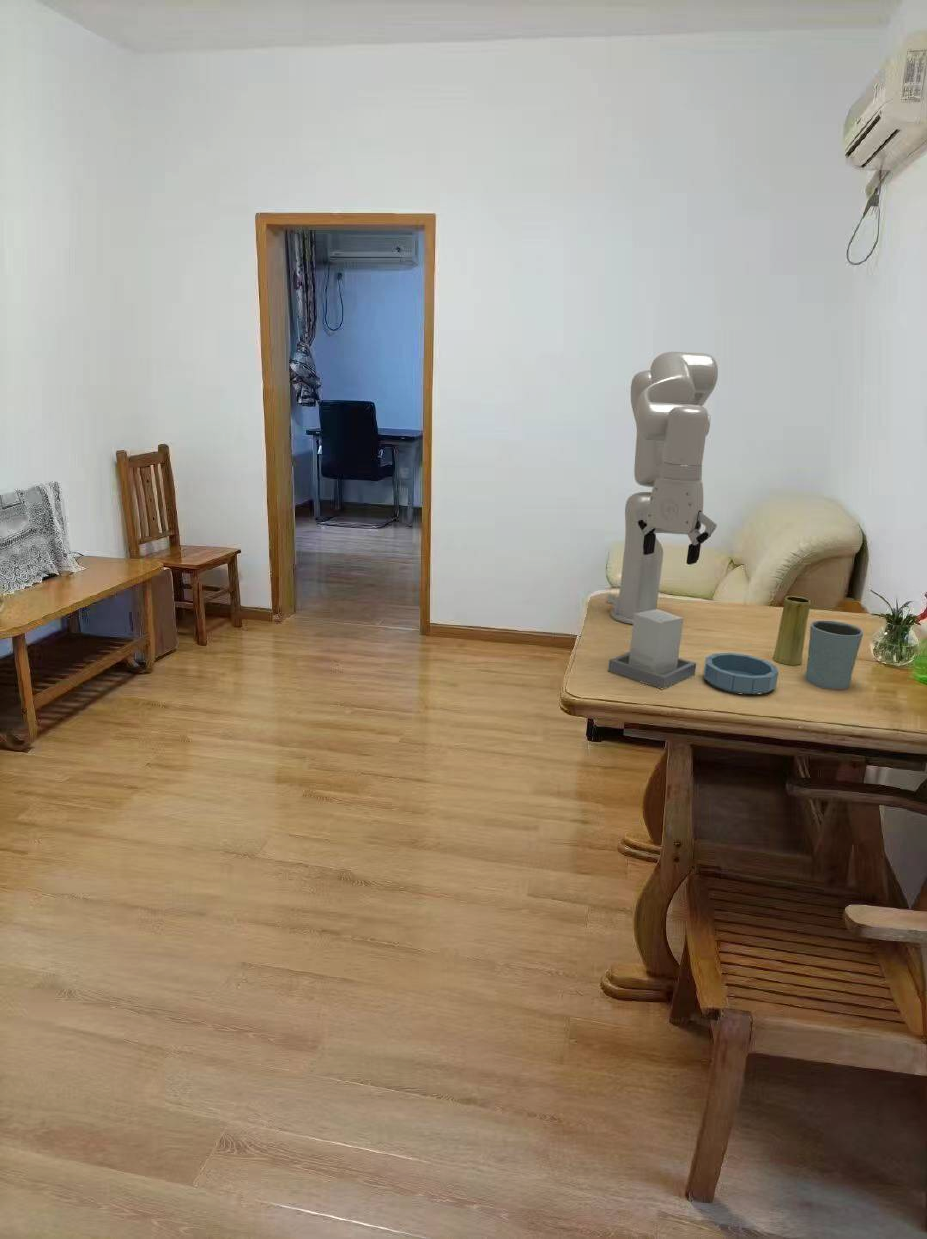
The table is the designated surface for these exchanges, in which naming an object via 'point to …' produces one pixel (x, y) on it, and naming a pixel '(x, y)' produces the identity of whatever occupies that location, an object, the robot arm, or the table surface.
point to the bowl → (740, 673)
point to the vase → (792, 631)
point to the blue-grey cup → (832, 654)
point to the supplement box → (655, 641)
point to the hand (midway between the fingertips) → (669, 558)
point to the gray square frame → (623, 668)
